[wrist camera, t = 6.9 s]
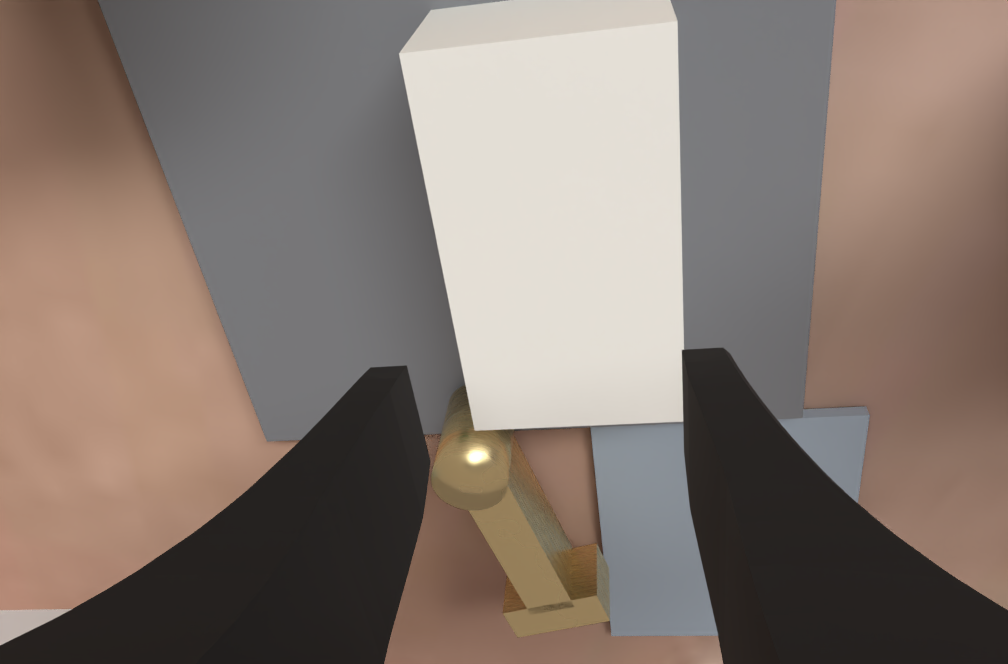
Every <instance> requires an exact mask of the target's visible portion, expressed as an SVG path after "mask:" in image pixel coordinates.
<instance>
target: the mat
mask: <svg viewBox="0 0 1008 664" xmlns="http://www.w3.org/2000/svg"><path fill="white" fill-rule="evenodd" d="M869 417H870V415H869V412H868V410H867V408H866V406H864V407H842V408H819V409H803V418H796V419H777V420H778V421H779V422H780V423H781V425H782V426H783V427H784V428H785V429H786V431H787V432H788V433H789V434H790V435H791V437H792V438H793V439H794V440H795V441H796V442H797V443H798V444H799V446H800V447H801V448H802V449H803V450H804V451H805V452H806V453H807V454H808V455H809V456H810V457H811V458H812V460H813V461H814V462H815V463H816V464H817V465H818V466H819V467H820V468H821V469H822V470H823V471H824V472H825V473H826V474H827V475H828V476H829V477H830V478H831V479H832V480H833V481H834V482H835V483H836V484H837V485H838V486H839V487H840V488H841V489H843V490H844V491H845V492H846V493H847V494H848V495H849V496H850V497H851V498H852V499H853V500H855V501H856V502H857V503H858V497H859V490H860V483H861V476H862V468H863V461H864V454H865V446H866V439H867V432H868V424H869ZM590 428H591V438H592V447H593V457H594V467H595V477H596V487H597V497H598V507H599V517H600V526H601V536H602V546H603V556H604V559H605V561H606V563H607V565H608V567H609V589H610V625H611V635H612V636H718V632H717V628H716V623H715V619H714V615H713V610H712V606H711V601H710V597H709V592H708V588H707V583H706V579H705V575H704V570H703V566H702V561H701V557H700V552H699V548H698V543H697V539H696V534H695V530H694V525H693V521H692V516H691V511H690V504H689V495H688V486H687V476H686V467H685V457H684V431H683V423H681V424H657V425H634V426H611V427H590Z"/></svg>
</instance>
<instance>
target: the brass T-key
mask: <svg viewBox="0 0 1008 664" xmlns="http://www.w3.org/2000/svg"><path fill="white" fill-rule="evenodd" d="M514 431H515V429H502V430H479V431H475V430H474V425H473V420H472V415H471V410H470V405H469V400H468V395H467V390H466V385H464V386H462V387H460V388H458V389H457V390H456V391H455V392H454V393H453V394H452V396H451V397H450V400H449V403H448V407H447V412H446V416H445V420H444V424H443V428H442V433H441V437H440V441H439V445H438V449H437V453H436V458H435V462H434V466H433V470H432V475H431V484H432V487H433V489H434V491H435V493H436V494H437V495H438V496H439V497H440V498H441V499H442V500H443V501H444V502H446V503H447V504H449V505H451V506H453V507H456V508H459V509H463V510H469V512H470V514H471V516H472V517H473V519H474V521H475V522H476V524H477V526H478V527H479V529H480V531H481V532H482V534H483V536H484V537H485V539H486V541H487V542H488V544H489V546H490V547H491V549H492V551H493V552H494V554H495V556H496V557H497V559H498V561H499V563H500V564H501V566H502V568H503V569H504V571H505V573H506V574H507V580H506V589H505V598H504V607H503V615H504V616H505V618H506V620H507V621H508V623H509V625H510V626H511V628H512V629H513V631H514V633H515V634H516V636H517V637H524V636H529V635H535V634H540V633H546V632H551V631H557V630H562V629H568V628H573V627H579V626H585V625H590V624H596V623H601V622H607V621H610V589H609V567H608V565H607V563H606V561H605V559H604V557H603V555H602V553H601V551H600V549H599V547H598V545H597V543H595V544H591V545H586V546H581V547H576V548H572V546H571V544H570V542H569V540H568V538H567V536H566V535H565V533H564V531H563V529H562V527H561V525H560V523H559V521H558V519H557V517H556V515H555V514H554V512H553V510H552V508H551V506H550V504H549V502H548V500H547V498H546V496H545V494H544V493H543V491H542V489H541V487H540V485H539V483H538V481H537V479H536V477H535V475H534V473H533V471H532V470H531V468H530V466H529V464H528V462H527V460H526V458H525V456H524V454H523V452H522V450H521V449H520V447H519V445H518V443H517V441H516V439H515V437H514Z"/></svg>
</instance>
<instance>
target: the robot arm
mask: <svg viewBox="0 0 1008 664" xmlns="http://www.w3.org/2000/svg"><path fill="white" fill-rule="evenodd" d="M682 385H683V431H684V457H685V467H686V476H687V486H688V495H689V504H690V511H691V516H692V521H693V525H694V530H695V534H696V539H697V543H698V548H699V552H700V557H701V561H702V566H703V570H704V575H705V579H706V583H707V588H708V592H709V597H710V601H711V606H712V610H713V615H714V619H715V623H716V628H717V632H718V637H719V642H720V648H721V653H722V659H723V664H1008V610H1006V609H1005V608H1003V607H1001V606H1000V605H998V604H996V603H995V602H993V601H992V600H990V599H988V598H987V597H985V596H984V595H982V594H980V593H979V592H977V591H976V590H974V589H972V588H971V587H969V586H968V585H966V584H964V583H963V582H961V581H960V580H958V579H956V578H955V577H954V576H952V575H951V574H949V573H948V572H946V571H945V570H943V569H942V568H940V567H939V566H938V565H936V564H935V563H933V562H932V561H931V560H929V559H928V558H927V557H925V556H924V555H922V554H921V553H920V552H918V551H917V550H915V549H914V548H913V547H911V546H910V545H909V544H907V543H906V542H904V541H903V540H902V539H900V538H899V537H897V536H896V535H895V534H894V533H892V532H891V531H890V530H889V529H888V528H886V527H885V526H884V525H883V524H881V523H880V522H879V521H878V520H876V519H875V518H874V517H873V516H872V515H870V514H869V513H868V512H867V511H866V510H865V509H864V508H863V507H861V506H860V505H859V504H858V503H857V502H856V501H855V500H853V499H852V498H851V497H850V496H849V495H848V494H847V493H846V492H845V491H844V490H843V489H841V488H840V487H839V486H838V485H837V484H836V483H835V482H834V481H833V480H832V479H831V478H830V477H829V476H828V475H827V474H826V473H825V472H824V471H823V470H822V469H821V468H820V467H819V466H818V465H817V464H816V463H815V462H814V461H813V460H812V458H811V457H810V456H809V455H808V454H807V453H806V452H805V451H804V450H803V449H802V448H801V447H800V446H799V444H798V443H797V442H796V441H795V440H794V439H793V438H792V437H791V435H790V434H789V433H788V432H787V431H786V429H785V428H784V427H783V426H782V425H781V423H780V422H779V421H778V420H777V419H776V417H775V416H774V415H773V414H772V413H771V411H770V410H769V409H768V408H767V406H766V405H765V404H764V403H763V401H762V400H761V399H760V397H759V396H758V394H757V393H756V392H755V390H754V389H753V388H752V386H751V385H750V384H749V382H748V381H747V379H746V378H745V376H744V375H743V373H742V372H741V370H740V369H739V367H738V366H737V364H736V362H735V361H734V359H733V357H732V356H731V354H730V353H729V352H728V351H727V350H726V349H724V348H723V347H722V348H704V349H687V350H682ZM429 469H430V458H429V454H428V450H427V445H426V441H425V437H424V433H423V429H422V425H421V421H420V417H419V413H418V409H417V405H416V401H415V397H414V393H413V388H412V384H411V380H410V376H409V372H408V368H407V365H405V366H387V367H370V368H369V369H368V370H367V371H366V372H365V373H364V374H363V375H362V376H361V377H360V378H359V379H358V380H357V382H356V383H355V384H354V385H353V386H352V387H351V388H350V389H349V390H348V391H347V392H346V393H345V394H344V395H343V396H342V398H341V399H340V400H339V401H338V402H337V403H336V404H335V405H334V406H333V407H332V408H331V409H330V410H329V411H328V413H327V414H326V415H325V416H324V417H323V418H322V419H321V420H320V421H319V422H318V423H317V424H316V425H315V426H314V427H313V428H312V429H311V430H310V431H309V432H308V433H307V434H306V435H305V436H304V437H303V438H302V439H301V440H300V441H299V442H298V443H297V444H296V445H295V446H294V447H293V448H292V449H291V450H290V451H289V452H288V453H287V454H286V455H285V456H284V457H283V458H282V459H281V460H279V461H278V462H277V463H276V464H275V465H274V466H273V467H272V468H271V469H270V470H269V471H268V472H267V473H266V474H264V475H263V476H262V477H261V478H260V479H259V480H258V481H257V482H256V483H255V484H254V485H253V486H252V487H250V488H249V489H248V490H247V491H246V492H245V493H243V494H242V495H241V496H240V497H239V498H237V499H236V500H235V501H234V502H233V503H231V504H230V505H229V506H228V507H227V508H225V509H224V510H223V511H221V512H220V513H219V514H218V515H216V516H215V517H214V518H212V519H211V520H210V521H209V522H207V523H206V524H205V525H203V526H202V527H201V528H199V529H198V530H197V531H195V532H194V533H193V534H191V535H190V536H188V537H187V538H185V539H184V540H183V541H181V542H180V543H178V544H177V545H175V546H174V547H172V548H171V549H169V550H168V551H166V552H165V553H163V554H162V555H160V556H159V557H157V558H156V559H154V560H153V561H152V562H150V563H149V564H147V565H146V566H144V567H143V568H141V569H140V570H138V571H137V572H135V573H133V574H132V575H130V576H128V577H127V578H125V579H123V580H122V581H120V582H119V583H117V584H115V585H114V586H112V587H110V588H109V589H107V590H105V591H104V592H102V593H100V594H98V595H96V596H95V597H93V598H91V599H89V600H88V601H86V602H84V603H82V604H80V605H79V606H77V607H75V608H73V609H72V610H70V611H68V612H66V613H64V614H62V615H60V616H58V617H56V618H55V619H53V620H51V621H49V622H47V623H45V624H43V625H41V626H39V627H36V628H34V629H32V630H30V631H28V632H26V633H24V634H22V635H20V636H18V637H16V638H14V639H12V640H10V641H8V642H6V643H4V644H2V645H0V664H384V661H385V657H386V653H387V648H388V644H389V640H390V636H391V632H392V629H393V625H394V621H395V618H396V614H397V611H398V607H399V603H400V600H401V596H402V593H403V589H404V585H405V582H406V578H407V575H408V571H409V567H410V564H411V560H412V556H413V553H414V549H415V545H416V542H417V538H418V534H419V530H420V527H421V523H422V519H423V514H424V507H425V500H426V493H427V485H428V477H429Z"/></svg>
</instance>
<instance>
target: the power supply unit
mask: <svg viewBox="0 0 1008 664" xmlns="http://www.w3.org/2000/svg"><path fill="white" fill-rule="evenodd" d="M70 610H72V609H54V610H0V645H2V644H4V643H6V642H8V641H10V640H12V639H14V638H16V637H18V636H20V635H22V634H24V633H26V632H28V631H30V630H32V629H34V628H36V627H39V626H41V625H43V624H45V623H47V622H49V621H51V620H53V619H55V618H56V617H58V616H60V615H62V614H64V613H66V612H68V611H70Z"/></svg>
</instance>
